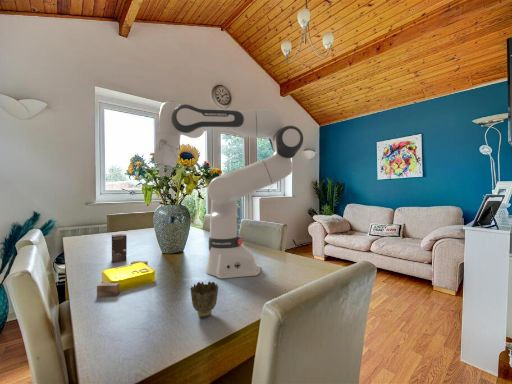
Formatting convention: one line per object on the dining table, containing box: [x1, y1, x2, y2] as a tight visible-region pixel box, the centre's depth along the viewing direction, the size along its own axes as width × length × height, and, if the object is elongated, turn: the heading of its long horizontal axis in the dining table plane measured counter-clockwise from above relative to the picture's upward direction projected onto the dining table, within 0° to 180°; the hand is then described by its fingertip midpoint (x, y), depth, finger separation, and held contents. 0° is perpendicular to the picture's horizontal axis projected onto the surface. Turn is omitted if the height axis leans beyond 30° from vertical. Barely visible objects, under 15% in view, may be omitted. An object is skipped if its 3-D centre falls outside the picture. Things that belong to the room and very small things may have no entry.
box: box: [111, 233, 128, 263], centre depth 114 cm, size 6×4×12 cm
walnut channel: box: [96, 260, 149, 298], centre depth 90 cm, size 6×25×4 cm, turn 2°
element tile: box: [101, 262, 156, 292], centre depth 90 cm, size 15×15×5 cm
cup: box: [189, 281, 219, 319], centre depth 66 cm, size 8×7×8 cm
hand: (164, 176), depth 99 cm, fingers open, 8 cm apart
